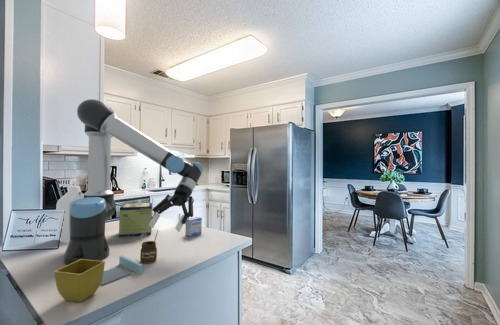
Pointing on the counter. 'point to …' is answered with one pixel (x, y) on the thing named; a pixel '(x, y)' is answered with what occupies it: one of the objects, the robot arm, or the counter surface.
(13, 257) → the counter surface
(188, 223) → the medicine box
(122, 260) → the acrylic wall
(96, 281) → the flower pot
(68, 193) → the milk
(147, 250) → the utensil holder
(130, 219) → the protein box
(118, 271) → the slate pad
